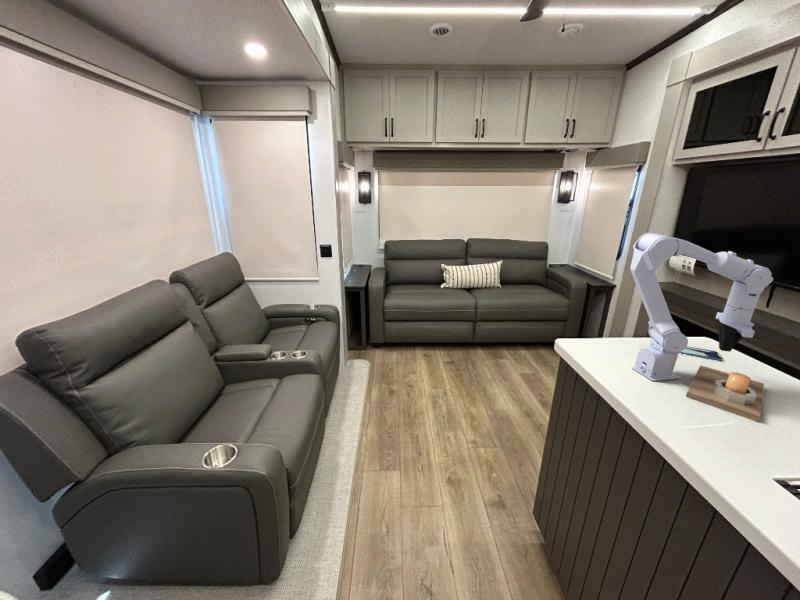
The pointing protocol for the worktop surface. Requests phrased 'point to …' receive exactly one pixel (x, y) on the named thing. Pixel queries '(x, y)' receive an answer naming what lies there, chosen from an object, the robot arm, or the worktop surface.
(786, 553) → the worktop surface
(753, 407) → the mount board
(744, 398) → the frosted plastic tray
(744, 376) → the orange rounded cylinder
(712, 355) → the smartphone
